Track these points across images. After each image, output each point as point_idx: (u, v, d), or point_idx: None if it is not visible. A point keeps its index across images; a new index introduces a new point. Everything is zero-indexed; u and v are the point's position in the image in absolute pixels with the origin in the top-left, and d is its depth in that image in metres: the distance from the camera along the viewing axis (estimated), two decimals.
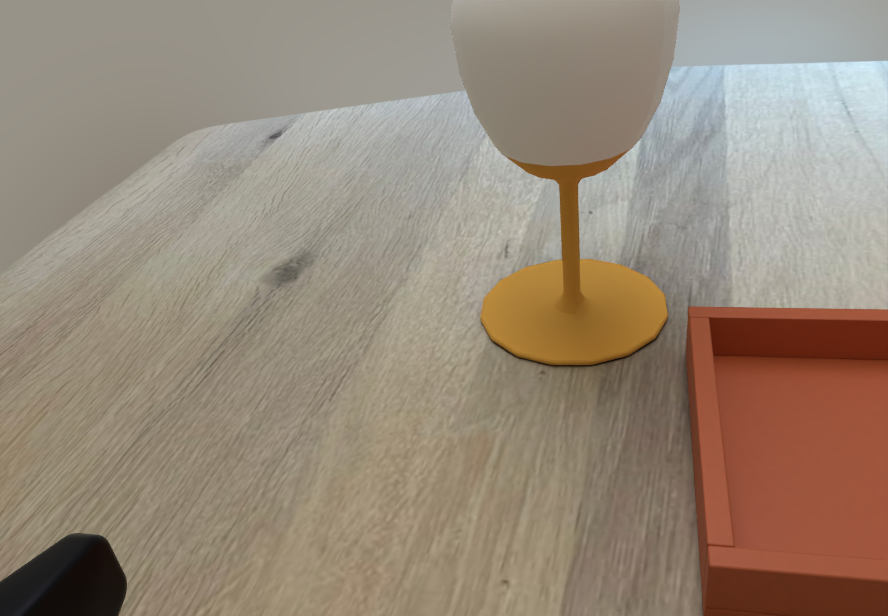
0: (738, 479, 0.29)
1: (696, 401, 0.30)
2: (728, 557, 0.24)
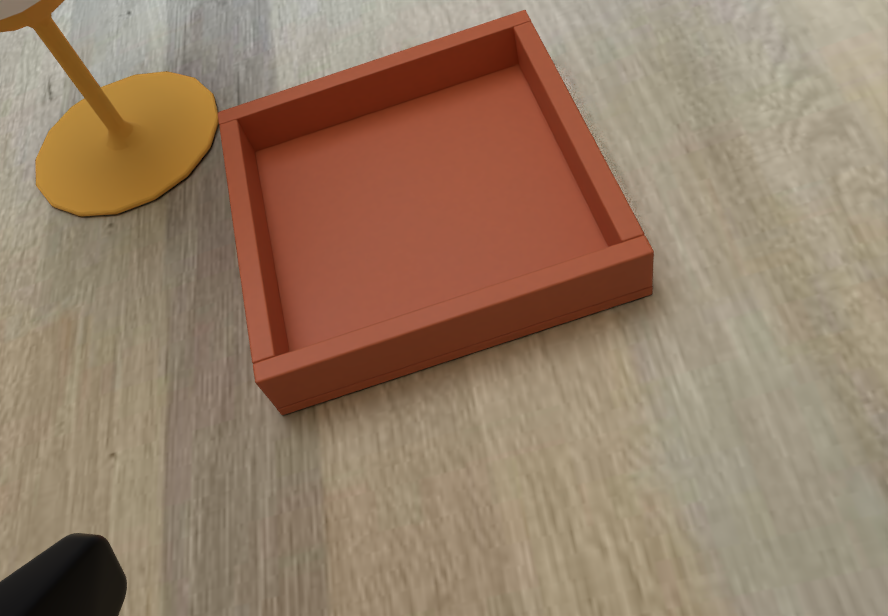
0: (293, 274, 0.31)
1: (232, 218, 0.31)
2: (269, 368, 0.26)
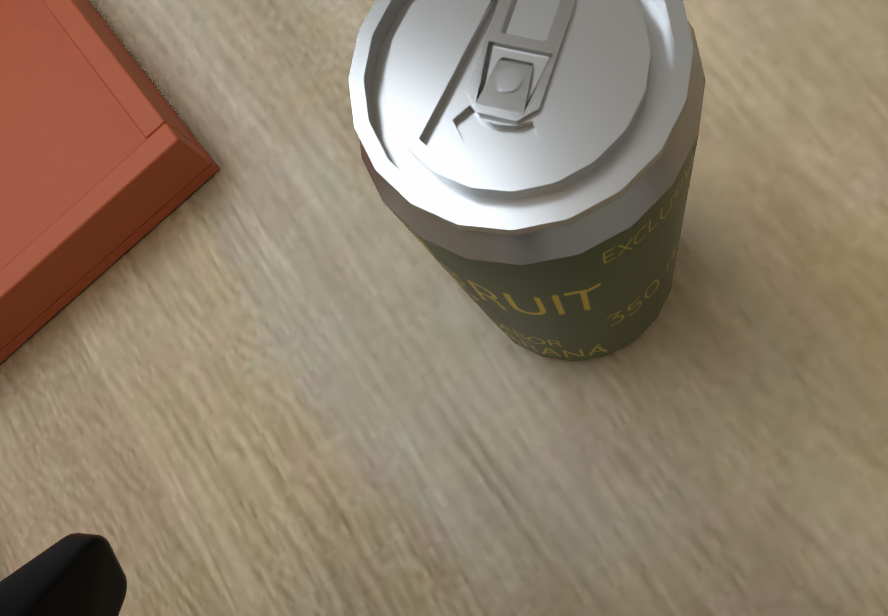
0: None
1: None
2: None
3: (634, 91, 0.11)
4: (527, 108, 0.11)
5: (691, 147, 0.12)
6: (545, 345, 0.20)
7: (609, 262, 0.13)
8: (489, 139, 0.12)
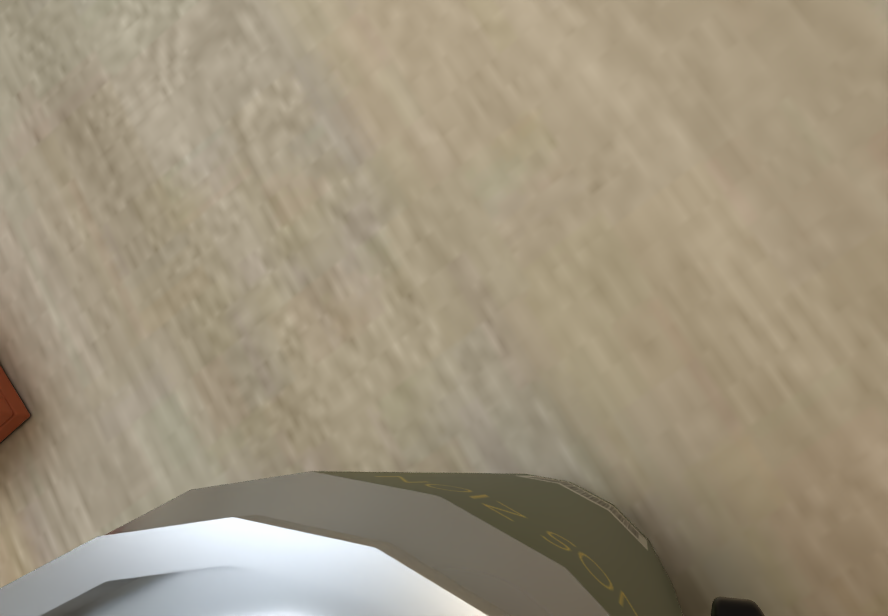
0: None
1: None
2: None
3: None
4: None
5: None
6: None
7: None
8: None
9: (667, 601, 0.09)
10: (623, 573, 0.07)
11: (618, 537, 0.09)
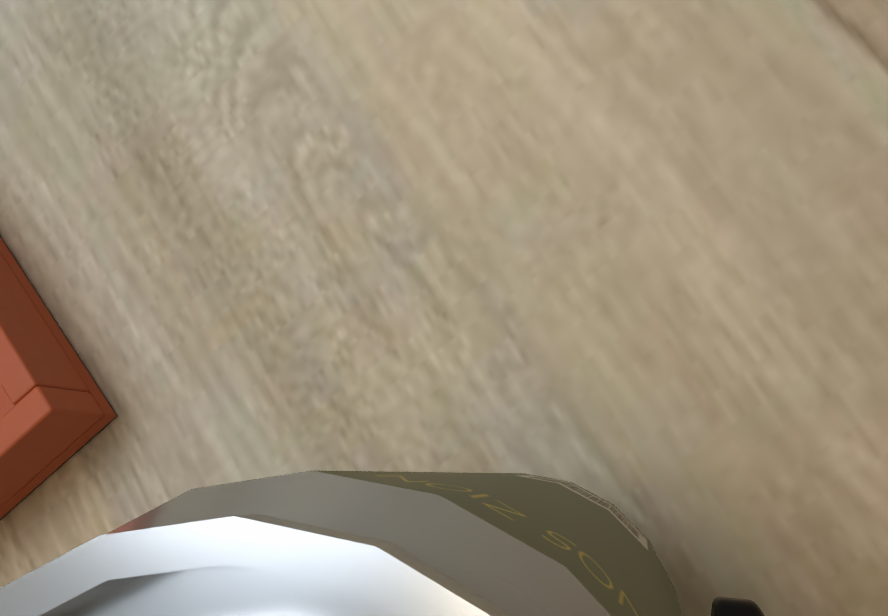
0: None
1: None
2: None
3: None
4: None
5: None
6: None
7: None
8: None
9: (667, 601, 0.09)
10: (623, 572, 0.07)
11: (618, 537, 0.09)
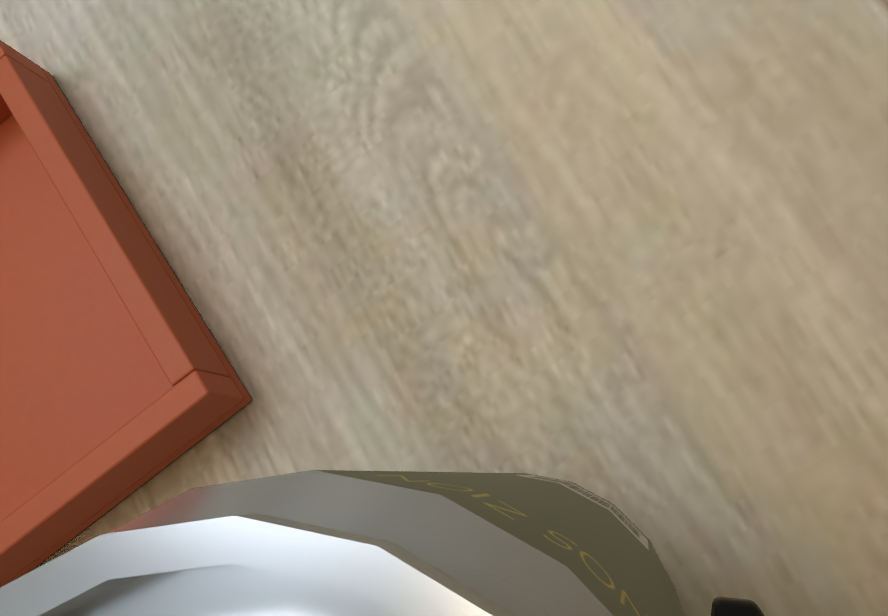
0: None
1: None
2: None
3: None
4: None
5: None
6: None
7: None
8: None
9: (668, 600, 0.09)
10: (624, 572, 0.07)
11: (619, 536, 0.09)
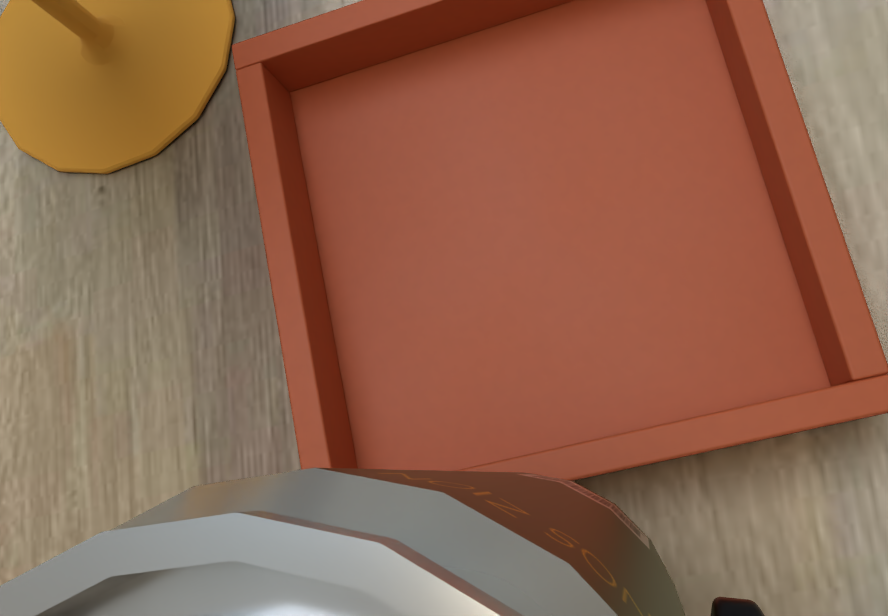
0: (354, 317, 0.23)
1: (266, 250, 0.21)
2: None
3: None
4: None
5: None
6: None
7: None
8: None
9: (669, 599, 0.09)
10: (626, 571, 0.07)
11: (620, 535, 0.09)
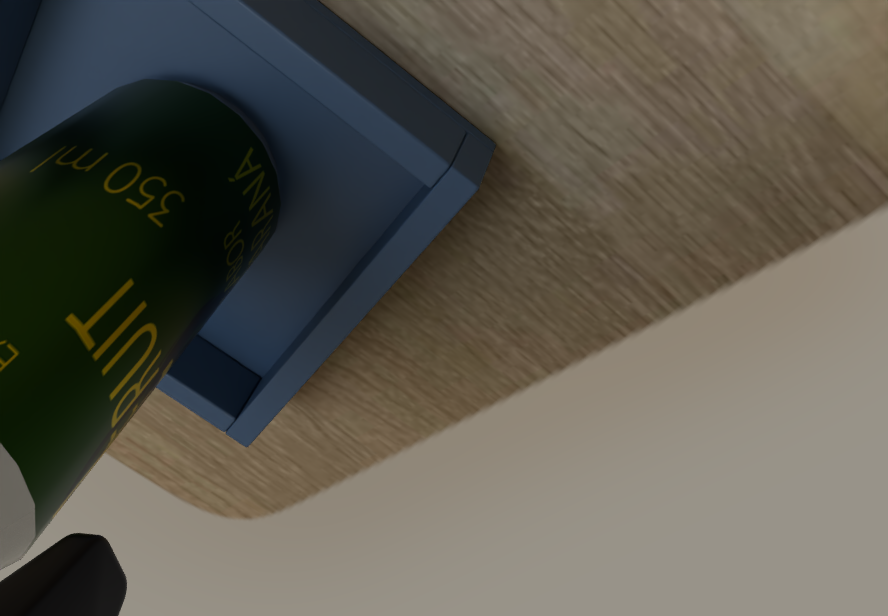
0: None
1: None
2: None
3: None
4: None
5: None
6: (244, 234, 0.19)
7: (17, 346, 0.12)
8: None
9: None
10: None
11: None
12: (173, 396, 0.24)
